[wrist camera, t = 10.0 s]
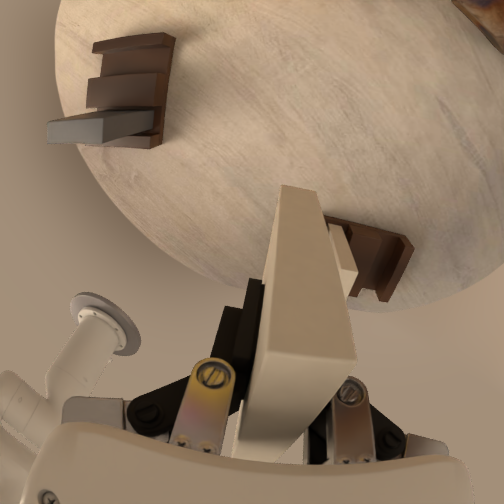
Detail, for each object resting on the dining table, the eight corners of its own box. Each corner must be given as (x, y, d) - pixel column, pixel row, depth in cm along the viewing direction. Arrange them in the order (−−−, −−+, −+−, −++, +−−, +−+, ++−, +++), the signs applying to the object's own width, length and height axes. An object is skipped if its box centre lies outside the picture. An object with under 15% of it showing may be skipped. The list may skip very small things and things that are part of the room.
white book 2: (323, 277, 37) (331, 331, 28) (311, 275, 37) (315, 328, 28) (341, 226, 32) (358, 272, 24) (328, 222, 32) (341, 268, 24)
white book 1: (316, 191, 13) (359, 362, 4) (284, 310, 17) (273, 464, 9) (280, 183, 13) (265, 351, 5) (256, 305, 17) (230, 458, 9)
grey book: (152, 128, 29) (102, 143, 20) (101, 127, 29) (47, 144, 20) (154, 109, 27) (103, 117, 19) (102, 110, 28) (46, 121, 19)
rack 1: (162, 144, 31) (149, 149, 28) (100, 140, 31) (84, 145, 28) (176, 38, 23) (164, 32, 20) (108, 45, 24) (93, 42, 21)
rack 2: (381, 287, 37) (387, 302, 34) (293, 270, 38) (293, 286, 35) (405, 235, 33) (415, 248, 30) (310, 212, 33) (312, 223, 30)
